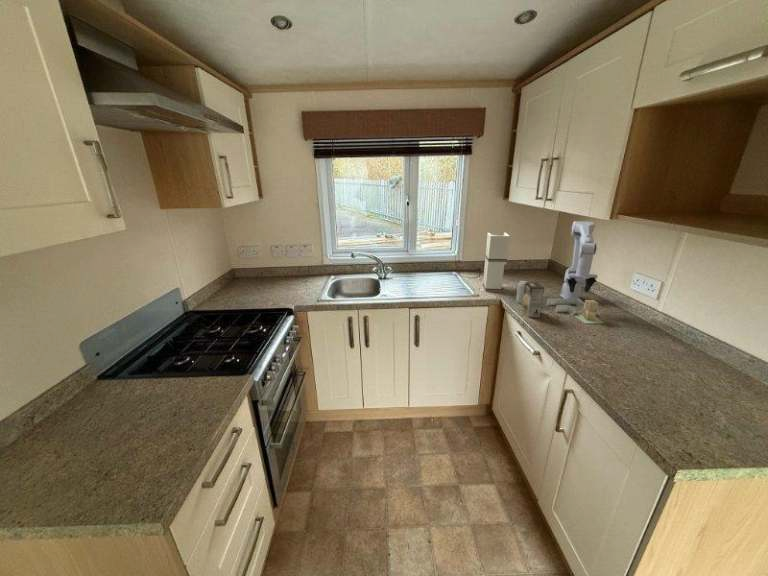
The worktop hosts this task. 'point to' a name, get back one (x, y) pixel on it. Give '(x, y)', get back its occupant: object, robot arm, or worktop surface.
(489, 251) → the tall white stacked column
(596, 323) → the end pad
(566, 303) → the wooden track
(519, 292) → the beverage can
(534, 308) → the coffee box
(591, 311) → the birch block
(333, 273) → the worktop surface
